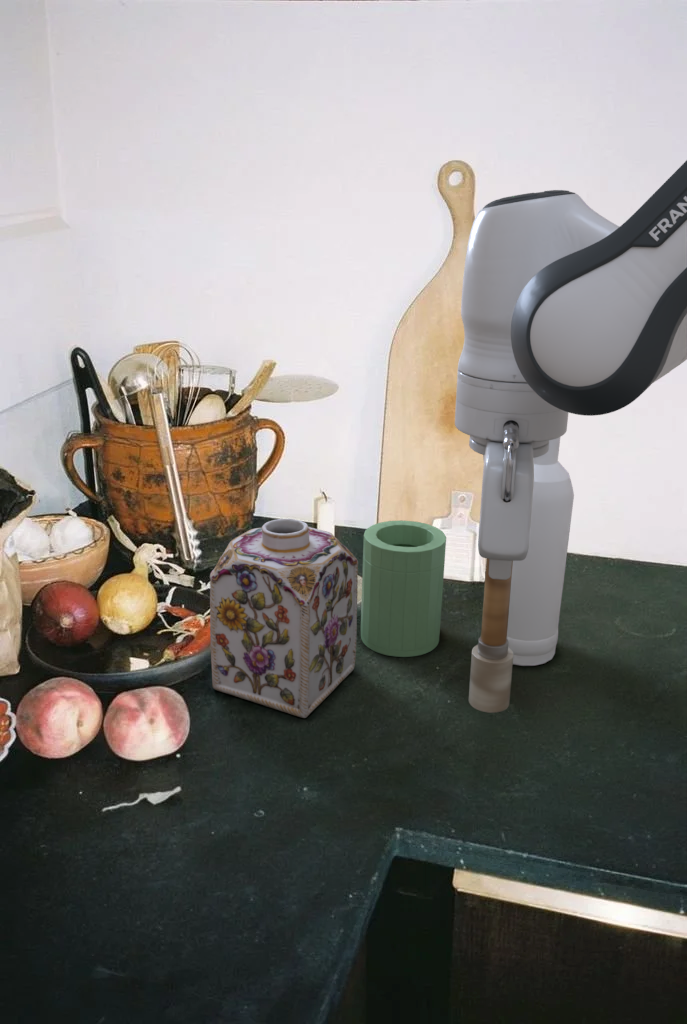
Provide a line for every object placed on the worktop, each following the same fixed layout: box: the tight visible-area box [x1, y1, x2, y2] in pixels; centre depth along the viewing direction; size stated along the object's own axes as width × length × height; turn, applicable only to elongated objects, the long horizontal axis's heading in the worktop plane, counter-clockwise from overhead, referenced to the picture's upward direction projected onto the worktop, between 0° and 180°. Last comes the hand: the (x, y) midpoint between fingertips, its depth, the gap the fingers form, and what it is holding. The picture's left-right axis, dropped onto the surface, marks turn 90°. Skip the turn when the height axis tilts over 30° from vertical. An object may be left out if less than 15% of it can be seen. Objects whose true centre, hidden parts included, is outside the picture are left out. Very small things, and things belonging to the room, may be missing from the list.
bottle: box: [507, 437, 575, 667], centre depth 103 cm, size 8×8×30 cm
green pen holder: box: [360, 520, 447, 658], centre depth 108 cm, size 9×9×13 cm
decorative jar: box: [209, 518, 359, 719], centre depth 97 cm, size 12×12×18 cm
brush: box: [468, 558, 514, 714], centre depth 80 cm, size 4×4×18 cm
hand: (499, 567), depth 79 cm, fingers closed on brush, 2 cm apart
